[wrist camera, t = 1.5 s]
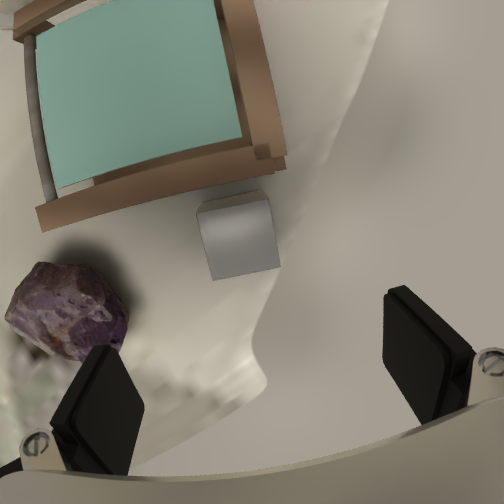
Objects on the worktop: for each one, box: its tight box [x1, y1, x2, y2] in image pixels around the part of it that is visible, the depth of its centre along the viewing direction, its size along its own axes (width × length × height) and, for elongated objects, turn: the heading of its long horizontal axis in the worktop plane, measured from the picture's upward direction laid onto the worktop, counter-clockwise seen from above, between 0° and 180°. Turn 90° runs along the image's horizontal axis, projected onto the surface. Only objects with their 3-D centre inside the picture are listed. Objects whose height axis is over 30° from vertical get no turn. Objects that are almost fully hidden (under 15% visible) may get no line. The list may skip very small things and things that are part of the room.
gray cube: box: [196, 190, 281, 281], centre depth 24 cm, size 5×5×5 cm
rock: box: [5, 262, 129, 364], centre depth 24 cm, size 12×9×10 cm
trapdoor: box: [36, 0, 242, 189], centre depth 14 cm, size 10×11×1 cm
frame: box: [13, 0, 287, 233], centre depth 18 cm, size 14×14×11 cm
